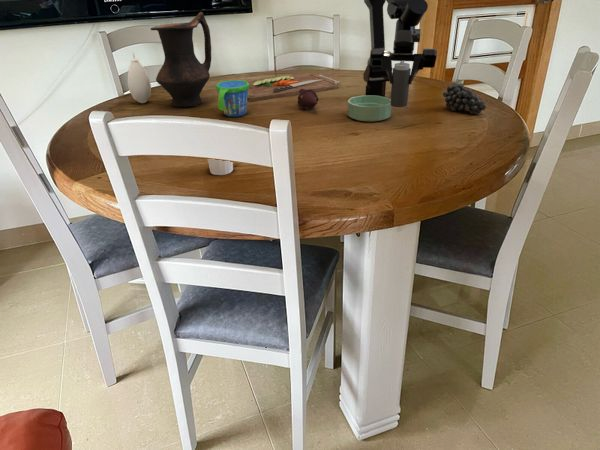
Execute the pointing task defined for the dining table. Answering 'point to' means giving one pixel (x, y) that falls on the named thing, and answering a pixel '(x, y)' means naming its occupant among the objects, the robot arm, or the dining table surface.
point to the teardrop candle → (138, 81)
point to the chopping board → (288, 85)
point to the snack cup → (233, 97)
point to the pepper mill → (400, 84)
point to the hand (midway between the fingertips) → (400, 83)
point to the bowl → (369, 108)
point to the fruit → (463, 99)
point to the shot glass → (220, 167)
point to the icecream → (307, 99)
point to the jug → (183, 62)
